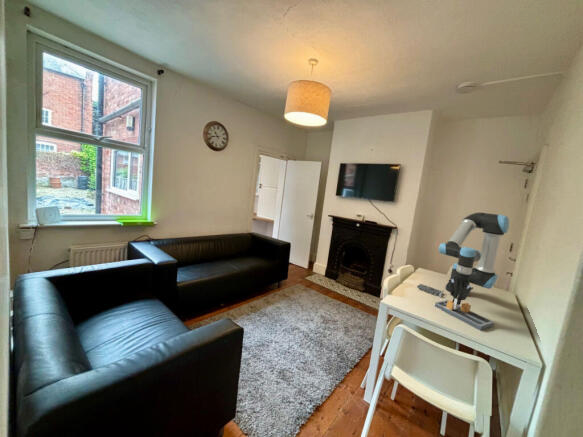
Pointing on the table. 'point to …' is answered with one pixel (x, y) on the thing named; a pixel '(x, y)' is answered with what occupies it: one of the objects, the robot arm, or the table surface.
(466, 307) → the tab
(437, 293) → the graphics card
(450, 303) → the tab
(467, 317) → the switch bank
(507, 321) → the table surface
